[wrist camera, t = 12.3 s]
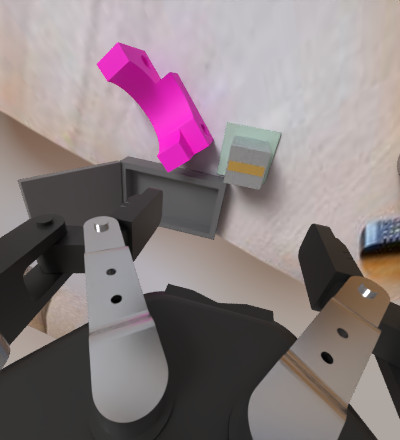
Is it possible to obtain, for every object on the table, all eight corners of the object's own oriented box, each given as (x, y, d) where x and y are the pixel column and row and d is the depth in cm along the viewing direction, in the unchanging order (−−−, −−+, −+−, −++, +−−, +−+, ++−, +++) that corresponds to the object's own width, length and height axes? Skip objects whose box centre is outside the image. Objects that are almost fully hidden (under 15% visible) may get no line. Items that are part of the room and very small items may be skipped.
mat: (280, 132, 33) (280, 133, 32) (264, 183, 37) (264, 184, 37) (227, 122, 34) (226, 122, 33) (217, 172, 38) (216, 173, 37)
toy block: (213, 139, 35) (205, 150, 29) (182, 158, 38) (167, 172, 32) (158, 38, 30) (133, 25, 24) (126, 68, 33) (96, 64, 27)
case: (228, 178, 38) (214, 228, 24) (216, 230, 44) (199, 295, 30) (95, 149, 40) (15, 180, 27) (100, 202, 46) (37, 251, 32)
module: (267, 141, 33) (271, 153, 27) (258, 173, 36) (259, 190, 30) (234, 135, 34) (230, 145, 28) (228, 166, 36) (223, 182, 30)
